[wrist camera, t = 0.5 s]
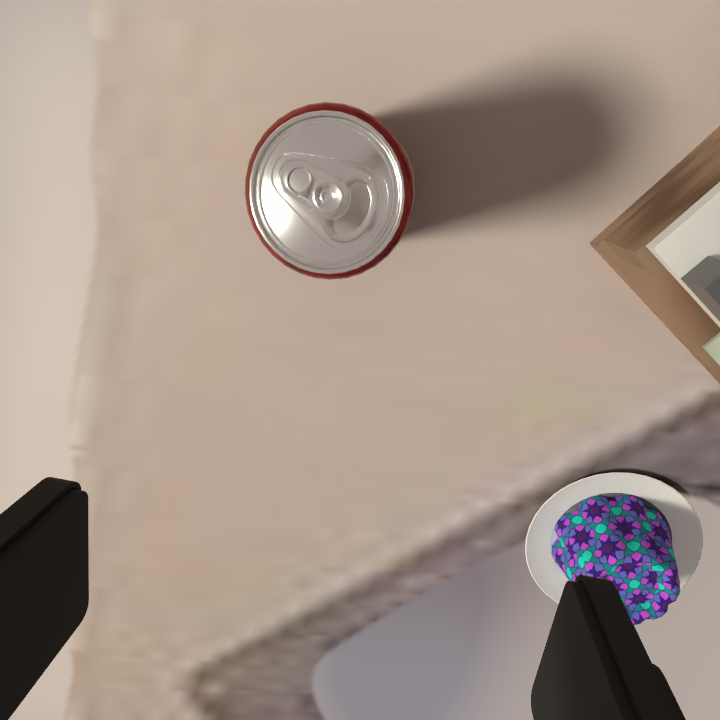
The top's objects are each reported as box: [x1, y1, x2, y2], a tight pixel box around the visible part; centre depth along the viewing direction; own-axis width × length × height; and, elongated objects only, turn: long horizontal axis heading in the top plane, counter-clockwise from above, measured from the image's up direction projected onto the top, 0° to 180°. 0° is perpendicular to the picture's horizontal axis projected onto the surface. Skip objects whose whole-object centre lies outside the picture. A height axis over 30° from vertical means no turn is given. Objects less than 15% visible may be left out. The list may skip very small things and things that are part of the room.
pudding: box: [525, 472, 703, 625], centre depth 39 cm, size 12×12×5 cm
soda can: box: [245, 102, 416, 280], centre depth 30 cm, size 7×7×12 cm
